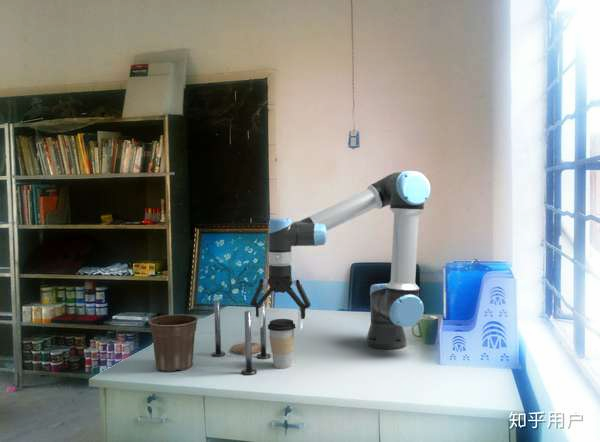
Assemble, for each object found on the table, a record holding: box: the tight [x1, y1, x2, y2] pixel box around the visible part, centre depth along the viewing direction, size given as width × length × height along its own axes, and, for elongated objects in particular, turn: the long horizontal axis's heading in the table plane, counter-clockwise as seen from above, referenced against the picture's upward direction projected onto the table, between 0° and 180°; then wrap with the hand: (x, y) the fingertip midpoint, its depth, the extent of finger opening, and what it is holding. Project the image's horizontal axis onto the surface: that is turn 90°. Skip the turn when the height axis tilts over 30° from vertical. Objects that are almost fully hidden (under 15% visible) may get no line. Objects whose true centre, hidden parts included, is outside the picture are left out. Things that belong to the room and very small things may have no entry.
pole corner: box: [256, 300, 272, 360], centre depth 188 cm, size 5×5×20 cm
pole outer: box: [240, 310, 258, 376], centre depth 171 cm, size 5×5×20 cm
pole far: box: [210, 299, 226, 358], centre depth 191 cm, size 5×5×20 cm
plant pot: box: [148, 314, 199, 373], centre depth 179 cm, size 16×16×16 cm
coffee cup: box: [267, 318, 296, 369], centre depth 178 cm, size 9×9×15 cm
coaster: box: [230, 342, 261, 356], centre depth 197 cm, size 12×12×1 cm
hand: (280, 327), depth 177 cm, fingers open, 13 cm apart
